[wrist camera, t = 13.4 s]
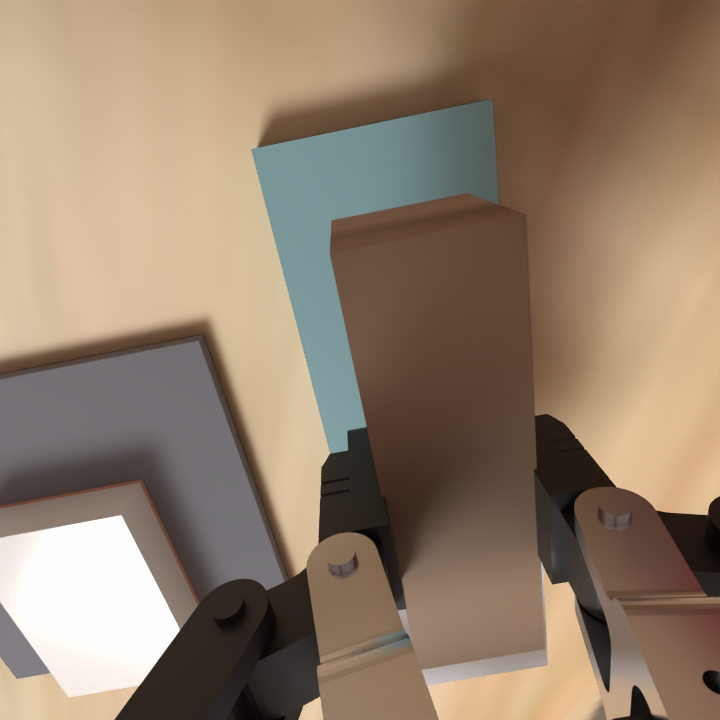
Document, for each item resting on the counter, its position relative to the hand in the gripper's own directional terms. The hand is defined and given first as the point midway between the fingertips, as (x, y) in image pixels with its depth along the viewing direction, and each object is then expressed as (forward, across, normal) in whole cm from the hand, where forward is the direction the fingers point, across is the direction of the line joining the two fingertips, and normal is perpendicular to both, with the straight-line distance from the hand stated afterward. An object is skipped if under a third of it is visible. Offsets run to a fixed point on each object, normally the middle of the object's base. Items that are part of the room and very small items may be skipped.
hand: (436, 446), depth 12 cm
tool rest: (+6, 0, +1) cm, 6 cm away
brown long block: (+1, 0, +2) cm, 2 cm away
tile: (+5, +14, +3) cm, 15 cm away
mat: (+6, +14, +5) cm, 16 cm away
